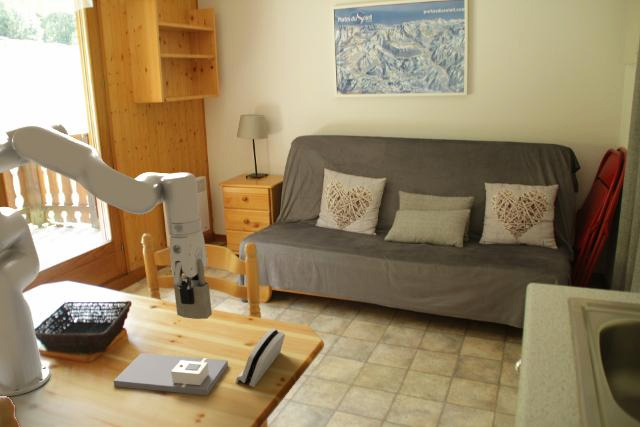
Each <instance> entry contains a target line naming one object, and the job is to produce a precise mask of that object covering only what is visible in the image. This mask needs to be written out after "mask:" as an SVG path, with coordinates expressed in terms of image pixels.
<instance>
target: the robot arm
mask: <svg viewBox="0 0 640 427" xmlns="http://www.w3.org/2000/svg"><path fill="white" fill-rule="evenodd" d="M31 163H33V164H35V165H37V166H40V167H42V168H44V169H48V170H50V171H52V172H54V173H57V174H58V175H61V176H63V177H65V178H68V179H70V180H73V181H74V182H77V183H78V184H79V185H81V187H82V188H83V189H85V190H86V191H87V192H88V193H90V194H91V195H92V196H93V197H95V198H97V199H98V200H100V201H101V202H103V203H105V204H107V205H110V206H113V207H115V208H117V209H119V210H122V211H125V212H127V213H130V214H133V215H134V214H135V215H144V214H147V213H149V212H151V211H153V210H154V209H155V208H156V207H157V206H158V205H160V204H162V203H164V207H165V215H166V222H167V223H166V224H167V231H168V233H167V234H168V236H169V252H170V254H169V255H170V256H169V257H170V266H171V273H172V276H173V285H174V284H176V285H177V286H178V288H179V289H180V297H181V303H182V304H194V303H195V301H194V292H193V288H191V280H198V281H199V278H198V273H199V269H198V258H200V259H201V260H202V262H203V266H204V268H206V266H207V265H208V256H207V248H206V247H207V246H206V242H205V237H204V233H203V230H202V221H201V220H202V218H201V210H200V203H199V202H200V201H199V200H200V199H199V194H198V193H199V192H198V180H197V178H196V176H195V174H194V173H190V172H174V173H160V172H152V171H151V172H143V173H142V174H139V175H138V176H137V177H135V178H133V177H131V176H129V175H126V174H124V173H122V172H120V171H117V170H115V169H113V167H111V166H109V165H108V164H107V163H105V161H103V158H102V157H101V156H100V153H99V151H98V149H97V148H96V147H94V146H92V145H90V144H87V143H86V142H83V141H80V140H78V139H76V138H73V137H72V136H69V133H68V131H67V129H66V128H65V127H64V126H63V124H61V123H59V122H57V121H56V120H53V119H48V118H47V119H39V120H34V121H30V122H25V123H24V124H21V126H19V127H18V128H14V129H10V130H8V131H4V132H0V174H2V173H5V172H7V171H10V170H13V169H16V168H18V167H21V166H25V165H29V164H31ZM40 269H41V266H40V259H39V255H38V252H37V248H36V246H35V242H34V239H33V236H32V233H31V230H30V227H29V223H28V221H27V220H26V219H25V217H24V215H23V214H22V213H20V212H19V211H18V210H17V209H14V208H12V207H7V206H1V207H0V396H1V397H2V396H3V397H12V396H19V395H24V394H26V393H29V392H31V391H34V390H36V389H39V388H40V387H41V386H43V385H44V384H45V383H46V382H47V381H48V380H49V379H50V377H51V370H50V367H48V366H46V365H43V364H42V361H41V356H40V351H39V346H38V341H37V334H36V330H35V325H34V320H33V316H32V312H31V308H30V305H29V304H28V301H27V300H26V299H25V297H24V294H23V291H24V290H25V289H26V288H27V287H28V286H29V285H30V284H31V283H32V282H34V281H35V280H36V278H37V277H38V275H39V273H40ZM183 280H187V282H186V281H183Z"/></svg>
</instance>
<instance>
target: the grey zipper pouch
mask: <svg viewBox="0 0 640 427" xmlns="http://www.w3.org/2000/svg"><path fill="white" fill-rule="evenodd" d="M285 336H286V334H285V333H284V332H283V331H279V330H278V329H277V328H270V329H268V331H266V332H265V334H264V335H263V336H262V337H260V339H259V340H258V342H257V343H256V345H255V346H254V347H253V349H252V350H251V352H250V354H249V355H248V358H247V360H246V362H245V367H244V368H243V369H242V370H241V372H240V373H239V375H237V377H236V379H235V384H238V383H239V382H240V381H241V382H242V383H244V384H245V383H247V382H248V384H249V387H255V386H256V385H257V384H258V382H259V381H260V380H261V378H262V377H263V376H264V374H265V373H266V372H267V370H268V369H269V368H270V366H271V365H272V364H273V363H274V361H275V360H276V358H277V357H278V356H279V354H280V353H281V351H282V347H283V344H284V340H285Z"/></svg>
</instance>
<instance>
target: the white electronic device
mask: <svg viewBox="0 0 640 427" xmlns="http://www.w3.org/2000/svg"><path fill="white" fill-rule="evenodd" d="M171 373H172V382H173V383H182V384H192V385H201V384H202V382H203V381H204V380H205V378H206V377H207V375H208V374H209V370H208V363H207V362H195V361H183V360H181V361H180V362H179V363H178V364H177V365H176V366H175V368H174V369H173V370H172V371H171Z"/></svg>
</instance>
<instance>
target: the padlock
mask: <svg viewBox="0 0 640 427" xmlns="http://www.w3.org/2000/svg"><path fill="white" fill-rule="evenodd" d="M198 269H199V273H198V278H199V281H198V280H191V288H193V292H194V301H195V303H194V304H182V303H181V297H180V289H179V288H178V286H177V285H176V284H174V283H173V290H174V297H175V306H176V314H177V316H179V317H182V318H185V319H192V320H193V319H194V320H202V319H203V320H206V319H208V318H210V317H211V316H212V314H213V312H212V303H211V293H210V283H209V282H206V279H205V278H206V277H205V267H204V266H203V262H202V260H201V259H200V258H198ZM183 281H186V282H187V279H183Z"/></svg>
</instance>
